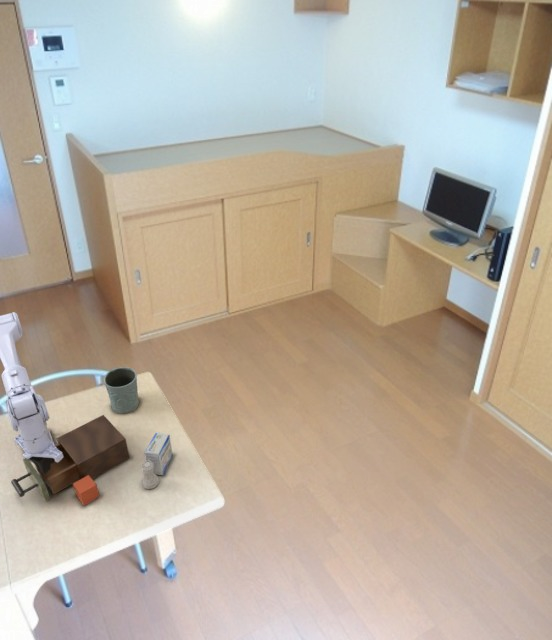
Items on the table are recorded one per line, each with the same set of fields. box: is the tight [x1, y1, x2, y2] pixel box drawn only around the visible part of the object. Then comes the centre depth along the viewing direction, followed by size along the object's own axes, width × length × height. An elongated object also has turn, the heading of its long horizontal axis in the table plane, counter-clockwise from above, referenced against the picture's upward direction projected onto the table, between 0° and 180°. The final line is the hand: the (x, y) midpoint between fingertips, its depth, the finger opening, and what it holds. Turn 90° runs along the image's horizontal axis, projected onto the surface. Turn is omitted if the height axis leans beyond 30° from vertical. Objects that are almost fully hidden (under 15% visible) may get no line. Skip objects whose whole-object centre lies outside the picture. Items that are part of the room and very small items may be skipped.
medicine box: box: [144, 432, 173, 476], centre depth 150 cm, size 8×4×9 cm, turn 168°
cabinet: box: [56, 414, 130, 480], centre depth 152 cm, size 14×13×8 cm
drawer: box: [10, 442, 81, 502], centre depth 145 cm, size 18×12×6 cm, turn 133°
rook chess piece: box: [140, 459, 160, 490], centre depth 144 cm, size 4×4×8 cm
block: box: [72, 475, 100, 506], centre depth 142 cm, size 4×4×5 cm
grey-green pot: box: [103, 366, 140, 415], centre depth 170 cm, size 10×10×12 cm
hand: (46, 470), depth 138 cm, fingers closed
